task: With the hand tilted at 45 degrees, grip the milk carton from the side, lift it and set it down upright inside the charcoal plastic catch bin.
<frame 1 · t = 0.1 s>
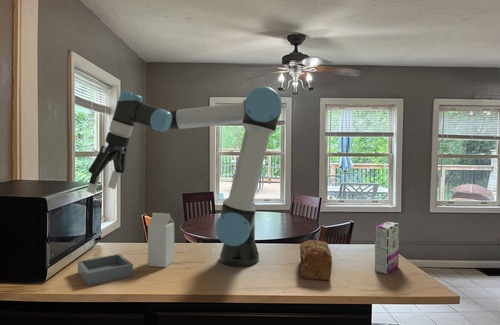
hand: (101, 190, 118), 28 cm above the kitchen counter, tool tilted 20°, fingers open, 13 cm apart
candy bar box: (386, 269, 120), on the kitchen counter
milk carton: (161, 264, 123), on the kitchen counter
catch bin: (105, 274, 112), on the kitchen counter
bread: (314, 271, 118), on the kitchen counter
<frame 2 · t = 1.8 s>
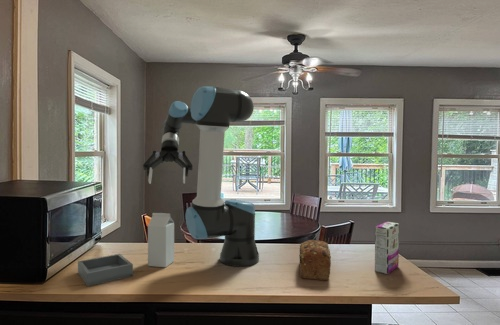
hand: (166, 181, 133), 30 cm above the kitchen counter, tool tilted 45°, fingers open, 13 cm apart
nothing on the kitchen counter moved.
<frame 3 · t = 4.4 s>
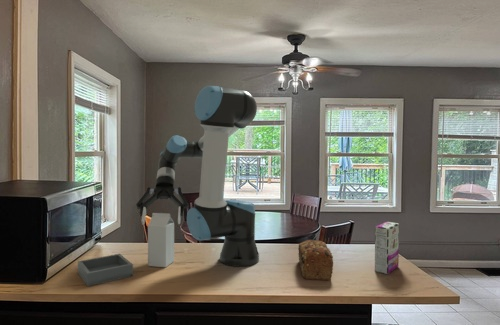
hand: (161, 222, 127), 14 cm above the kitchen counter, tool tilted 45°, fingers open, 13 cm apart
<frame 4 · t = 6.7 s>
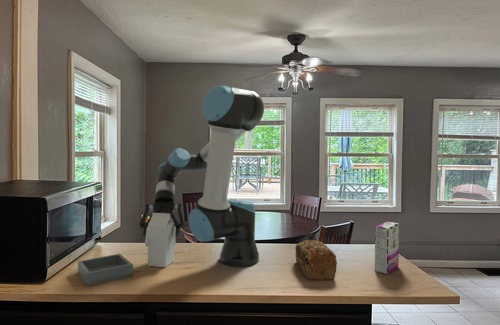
hand: (160, 244, 119), 8 cm above the kitchen counter, tool tilted 45°, fingers closed on milk carton, 9 cm apart
milk carton: (161, 264, 123), on the kitchen counter, touching gripper
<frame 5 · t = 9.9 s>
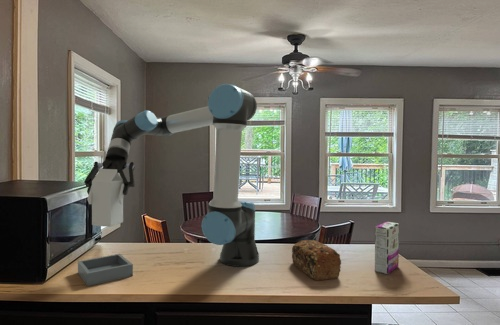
hand: (104, 201, 109), 25 cm above the kitchen counter, tool tilted 45°, fingers closed on milk carton, 9 cm apart
milk carton: (107, 224, 113), point 17 cm above the kitchen counter, touching gripper
when the fingers open (11 cm above the kitchen counter, at t = 13.2 s): milk carton drops 1 cm, resting on catch bin.
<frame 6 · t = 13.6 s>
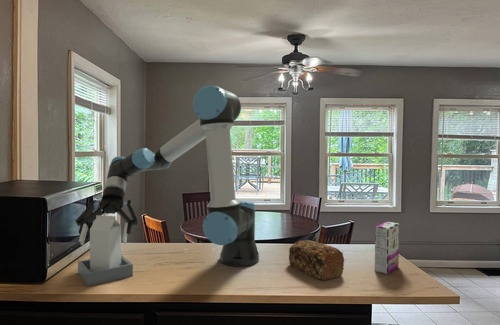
hand: (102, 242, 109), 12 cm above the kitchen counter, tool tilted 45°, fingers open, 13 cm apart
milk carton: (106, 271, 112), point 1 cm above the kitchen counter, touching catch bin
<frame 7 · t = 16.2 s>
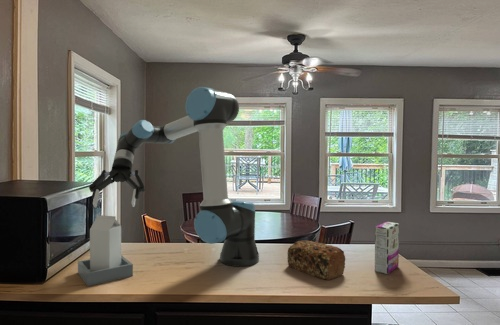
hand: (113, 205, 122), 22 cm above the kitchen counter, tool tilted 45°, fingers open, 13 cm apart
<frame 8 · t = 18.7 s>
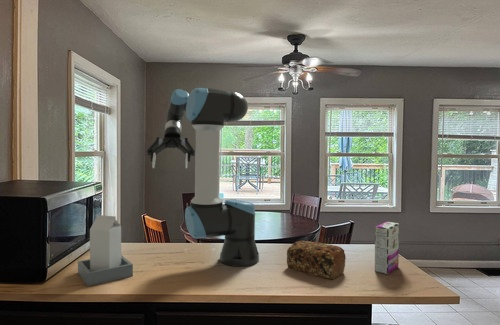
hand: (169, 166, 138), 36 cm above the kitchen counter, tool tilted 45°, fingers open, 13 cm apart
at the end: milk carton inside the target area on the catch bin (0.4 cm from its centre), point 0.8 cm above the catch bin's base; milk carton tilted 0°; the gripper is holding nothing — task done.
